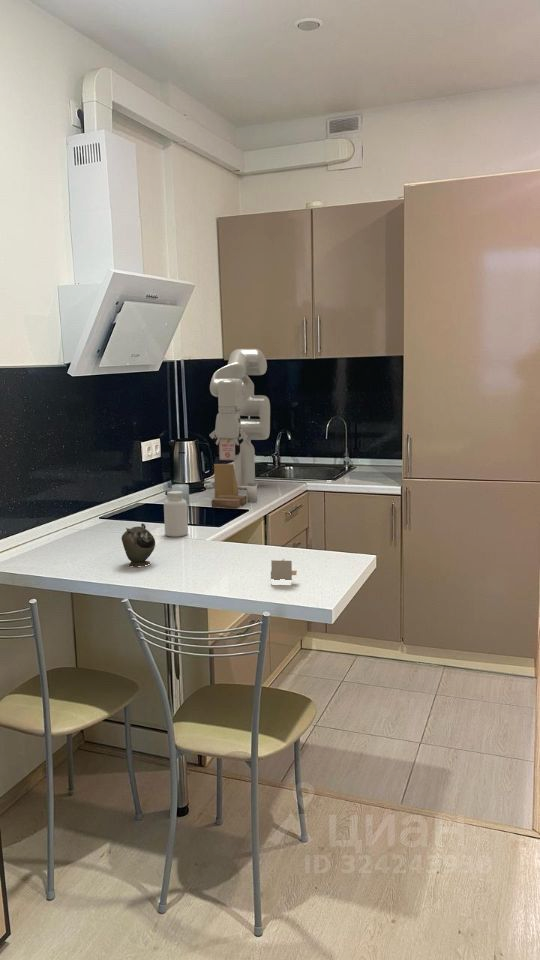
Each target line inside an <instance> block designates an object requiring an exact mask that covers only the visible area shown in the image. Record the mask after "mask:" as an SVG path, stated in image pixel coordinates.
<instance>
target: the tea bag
mask: <svg viewBox="0 0 540 960" xmlns="http://www.w3.org/2000/svg"><path fill="white" fill-rule="evenodd" d="M235 445H236V443H235V441H234V439H221V440H220V442H219V454H218V456H219V458H218V459H219V461H233V462H234V461H235V460H237V459H238V455H235Z"/></svg>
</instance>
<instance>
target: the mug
mask: <svg viewBox="0 0 540 960" xmlns="http://www.w3.org/2000/svg"><path fill="white" fill-rule="evenodd" d="M170 491H182V492H183V498H182V499H184V500H185V501H186V502H187V506H189V505H190V486H189V484H186V483H175V484H172V485H171V488H166V495H167V493H168V492H170ZM167 497H168V495H167V496H166V500H168V498H167Z"/></svg>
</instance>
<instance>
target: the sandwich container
mask: <svg viewBox="0 0 540 960" xmlns="http://www.w3.org/2000/svg"><path fill="white" fill-rule="evenodd" d="M213 470H214V471H213V472H214V475H213V476H214V477H213V478H214V498H216V497H218V496H220V495H222V494H223V495H238V493H240V492H239V489H238V487H237V482H236V477H235V472H234V463H214V464H213Z"/></svg>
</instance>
